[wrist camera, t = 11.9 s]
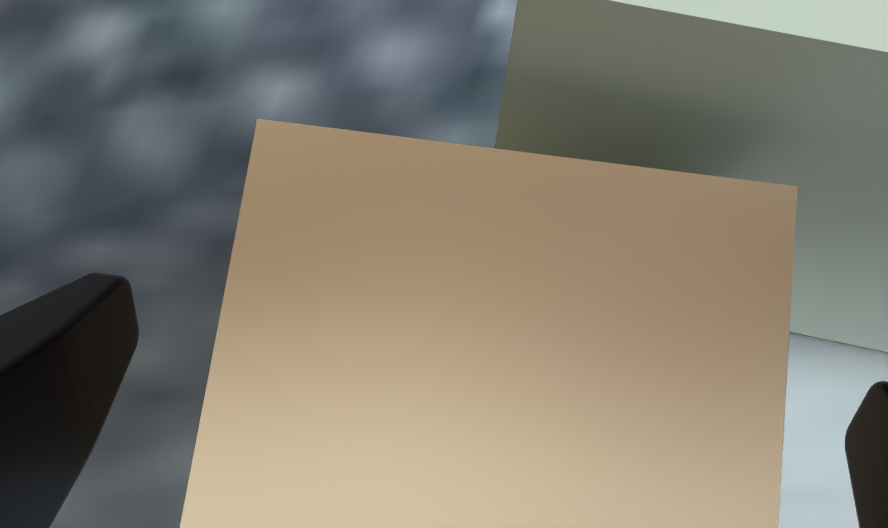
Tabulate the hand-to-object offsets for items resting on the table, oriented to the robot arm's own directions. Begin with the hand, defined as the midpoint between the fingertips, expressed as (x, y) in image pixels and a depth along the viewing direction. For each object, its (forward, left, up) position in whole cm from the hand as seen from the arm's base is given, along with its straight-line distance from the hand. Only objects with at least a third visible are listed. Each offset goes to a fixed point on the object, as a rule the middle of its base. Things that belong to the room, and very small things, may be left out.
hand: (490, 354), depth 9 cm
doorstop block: (-1, 0, -8) cm, 8 cm away
